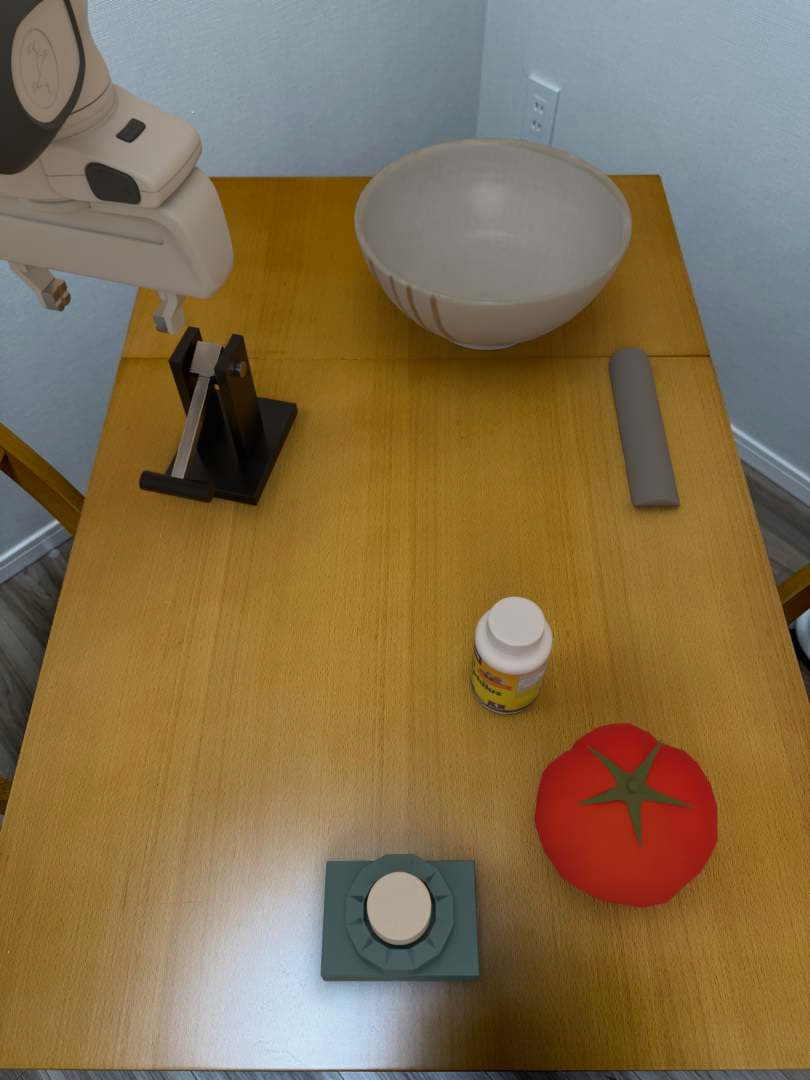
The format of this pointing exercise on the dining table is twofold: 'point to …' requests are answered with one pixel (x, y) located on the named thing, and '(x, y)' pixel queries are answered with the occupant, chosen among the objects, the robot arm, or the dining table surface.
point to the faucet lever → (190, 434)
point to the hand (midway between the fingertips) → (114, 316)
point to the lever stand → (232, 422)
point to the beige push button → (399, 908)
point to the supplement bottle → (510, 655)
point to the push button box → (429, 958)
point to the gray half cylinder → (642, 430)
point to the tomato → (626, 816)
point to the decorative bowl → (491, 238)
